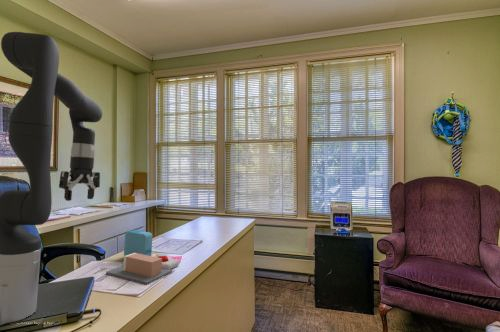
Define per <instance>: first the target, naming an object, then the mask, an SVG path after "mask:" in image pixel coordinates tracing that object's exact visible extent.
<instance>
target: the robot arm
mask: <svg viewBox="0 0 500 332" xmlns="http://www.w3.org/2000/svg"><path fill="white" fill-rule="evenodd" d="M0 47H1V52H2V53H3V55H4V57H5V58H6V61H8V62H9V63H10V64H12V65H13V66H14V67H15V68H16V69H18V70H19V71H21V72H22V73H24V74H25V75H27V76H28V77H30V78H31V82H30V85H29V88H28V89H27V91H26V92H25V94H24V95H23V96H22V97H21V99H19V101H18V102H17V103H16V105H15V106H14V107H13V109H12V111H11V112H10V114H9V119H8V142H9V143H8V144H9V145H10V147H11V150H12V151H13V152H14V154H15V155H16V157H17V158H18V159H19V162H21V164H22V165H23V166H24V167H23V168H25V171H26V173H27V175H28V179H29V190H22V189H21V190H17V189H15V190H14V189H12V190H6V191H4V192H2V194H0V326H2V325H4V324H8V323H14V322H19V321H22V320H24V319H27V318H28V316H29V317H30V315H31V316H32V315H34V314H35V313H36V311H37V305H38V304H37V303H38V293H39V292H38V291H39V290H38V289H39V279H40V277H39V276H40V268H41V267H40V264H41V255H42V254H41V253H42V239H41V237H40V236H37V235H36V234H33V233H30V232H28V231H27V230H26V229H24V227H23V226H40V225H43V224H45V223H46V222H47V221H48V220H49V218H50V215H51V212H52V205H53V204H52V202H53V201H52V200H53V199H52V184H51V183H52V182H51V181H52V180H51V179H52V178H51V177H52V176H51V156H52V153H51V152H52V143H53V127H54V123H53V122H54V121H53V120H54V118H53V117H54V99H55V97H56V98H57V99H58V100H59V101H60V102H61V104H63V105H64V106H65V108H68V113H69V114H68V115H69V118H70V122H71V127H72V144H71V149H70V161H69V168H70V170H69V171H68V170H67V171H65V170H64V171H62V170H61V172H60V176H59V183H58V188H59V189H63V190H64V193H63V194H64V200H65V201H67V202H68V201H69V202H70V201H72V198H73V188H74V187H75V186H77V184H84V185H86V187H87V188H88V189H87V197H86V198H87V199H88V200H93V199H94V196H95V189H97V188H100V184H101V183H100V182H101V181H100V180H101V174H100V172H99V171H98V172H97V171H94V172H93V170H94V164H95V142H96V141H95V139H96V133H95V131H94V130H93V129H92V128H88V127H85V126H84V123H98V122H99V121H101V120H102V117H103V111H102V108H101V107H100V105H99V104H98V103H97V102H95V101H94V100H92V99H91V98H90V97H88V96H86V95H84V93H83V91H81V90H80V88H79V87H78V85H76V84H75V83H74V82H73V81H72V80H70V79H69V78H67V77H65V76H63V75H61V74H60V73H58V72H59V65H60V50H59V47H58V44H57V42H56V40H55V39H54V38H53V37H51V36H50V35H48V34H43V33H34V32H33V33H32V32H23V31H9V32H7V33H5V34H3V36H2V37H1V42H0ZM34 312H35V313H34ZM33 313H34V314H33ZM26 317H27V318H26Z"/></svg>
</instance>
